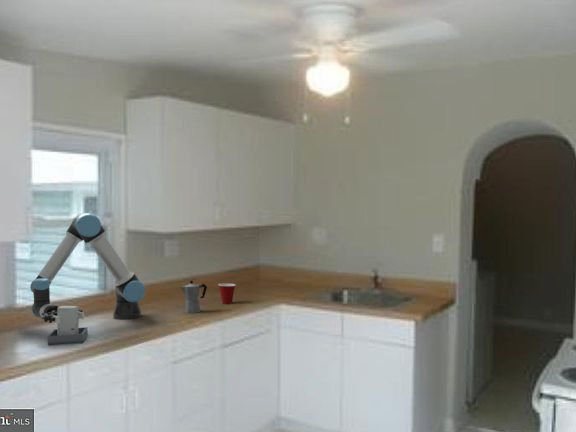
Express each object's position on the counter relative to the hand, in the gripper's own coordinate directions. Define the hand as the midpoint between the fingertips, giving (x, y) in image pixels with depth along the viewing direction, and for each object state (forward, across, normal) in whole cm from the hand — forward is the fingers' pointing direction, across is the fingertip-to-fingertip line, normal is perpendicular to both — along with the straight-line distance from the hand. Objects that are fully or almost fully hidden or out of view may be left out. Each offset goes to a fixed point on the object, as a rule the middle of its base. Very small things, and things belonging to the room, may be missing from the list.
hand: (71, 317), depth 267 cm
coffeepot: (-11, -78, -11) cm, 80 cm away
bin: (-4, 0, -11) cm, 12 cm away
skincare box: (-4, 0, -10) cm, 11 cm away
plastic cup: (-16, -107, -11) cm, 109 cm away
